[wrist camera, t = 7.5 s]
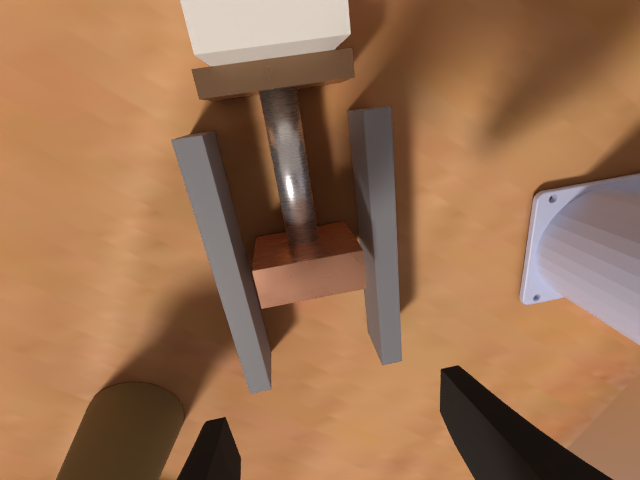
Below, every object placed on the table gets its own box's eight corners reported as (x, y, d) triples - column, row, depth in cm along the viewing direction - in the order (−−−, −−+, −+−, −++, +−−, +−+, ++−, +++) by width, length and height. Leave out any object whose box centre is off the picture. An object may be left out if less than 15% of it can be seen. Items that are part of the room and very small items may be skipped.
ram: (337, 58, 15) (359, 42, 11) (356, 251, 19) (377, 286, 15) (207, 76, 14) (184, 65, 11) (255, 270, 18) (250, 310, 15)
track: (370, 106, 16) (391, 106, 13) (385, 328, 21) (401, 361, 19) (189, 134, 15) (171, 140, 12) (253, 356, 21) (250, 394, 18)
